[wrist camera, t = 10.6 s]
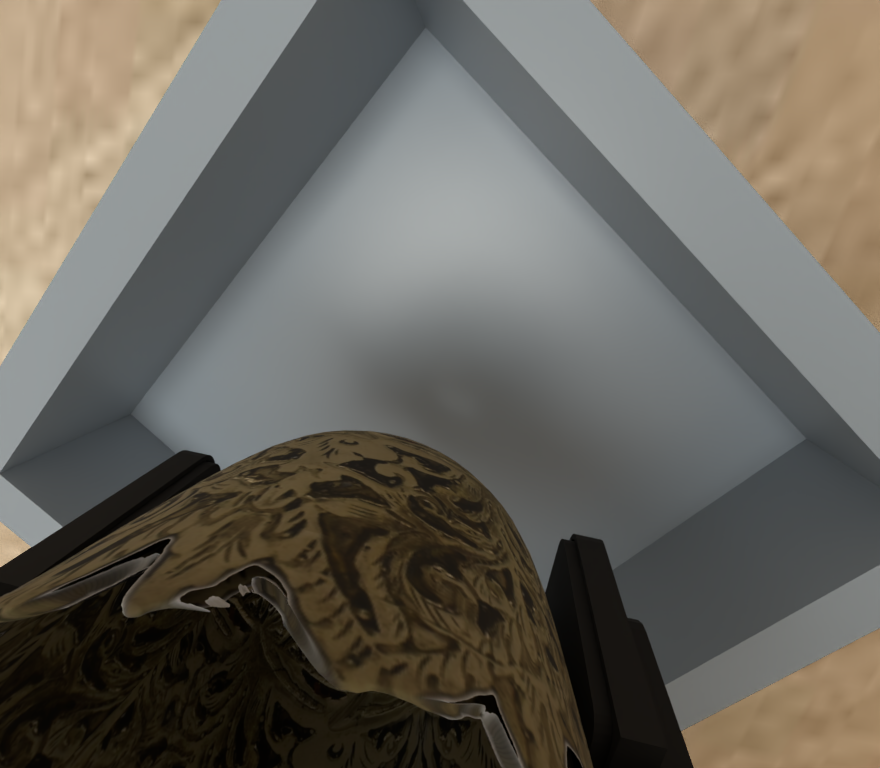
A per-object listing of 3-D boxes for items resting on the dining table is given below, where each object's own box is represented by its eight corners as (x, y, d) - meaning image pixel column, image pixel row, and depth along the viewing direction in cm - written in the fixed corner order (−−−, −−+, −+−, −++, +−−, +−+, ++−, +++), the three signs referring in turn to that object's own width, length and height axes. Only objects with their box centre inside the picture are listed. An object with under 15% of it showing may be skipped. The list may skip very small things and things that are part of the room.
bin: (858, 429, 16) (1056, 535, 10) (444, 702, 22) (420, 866, 16) (429, -44, 14) (372, -250, 8) (103, 404, 20) (-63, 470, 14)
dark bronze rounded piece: (208, 414, 12) (-329, 731, 4) (480, 298, 10) (393, 483, 2) (342, 644, 13) (126, 1170, 6) (598, 578, 12) (762, 1213, 4)
